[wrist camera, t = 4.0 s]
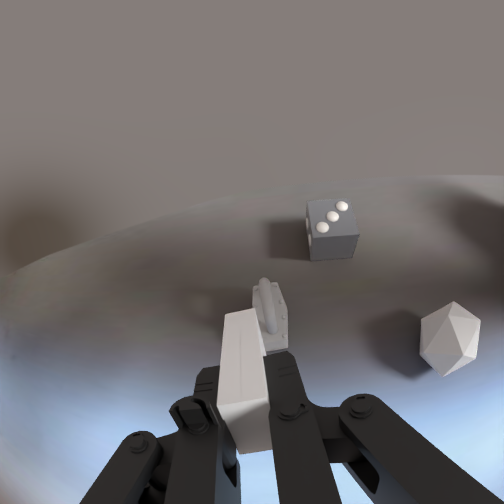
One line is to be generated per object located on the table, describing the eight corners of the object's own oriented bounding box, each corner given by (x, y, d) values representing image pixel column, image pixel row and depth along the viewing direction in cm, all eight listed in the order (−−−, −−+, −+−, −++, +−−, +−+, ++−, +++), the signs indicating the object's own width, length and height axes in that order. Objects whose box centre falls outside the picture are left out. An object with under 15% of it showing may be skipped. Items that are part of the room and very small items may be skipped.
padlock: (292, 347, 33) (293, 325, 25) (260, 352, 33) (249, 333, 25) (282, 295, 37) (279, 258, 28) (252, 301, 37) (240, 265, 29)
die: (434, 391, 27) (496, 361, 21) (401, 370, 26) (473, 333, 20) (432, 342, 33) (485, 310, 27) (401, 316, 32) (459, 277, 26)
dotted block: (344, 224, 42) (349, 197, 36) (351, 258, 38) (359, 233, 33) (304, 226, 42) (305, 200, 37) (309, 261, 39) (311, 237, 34)
